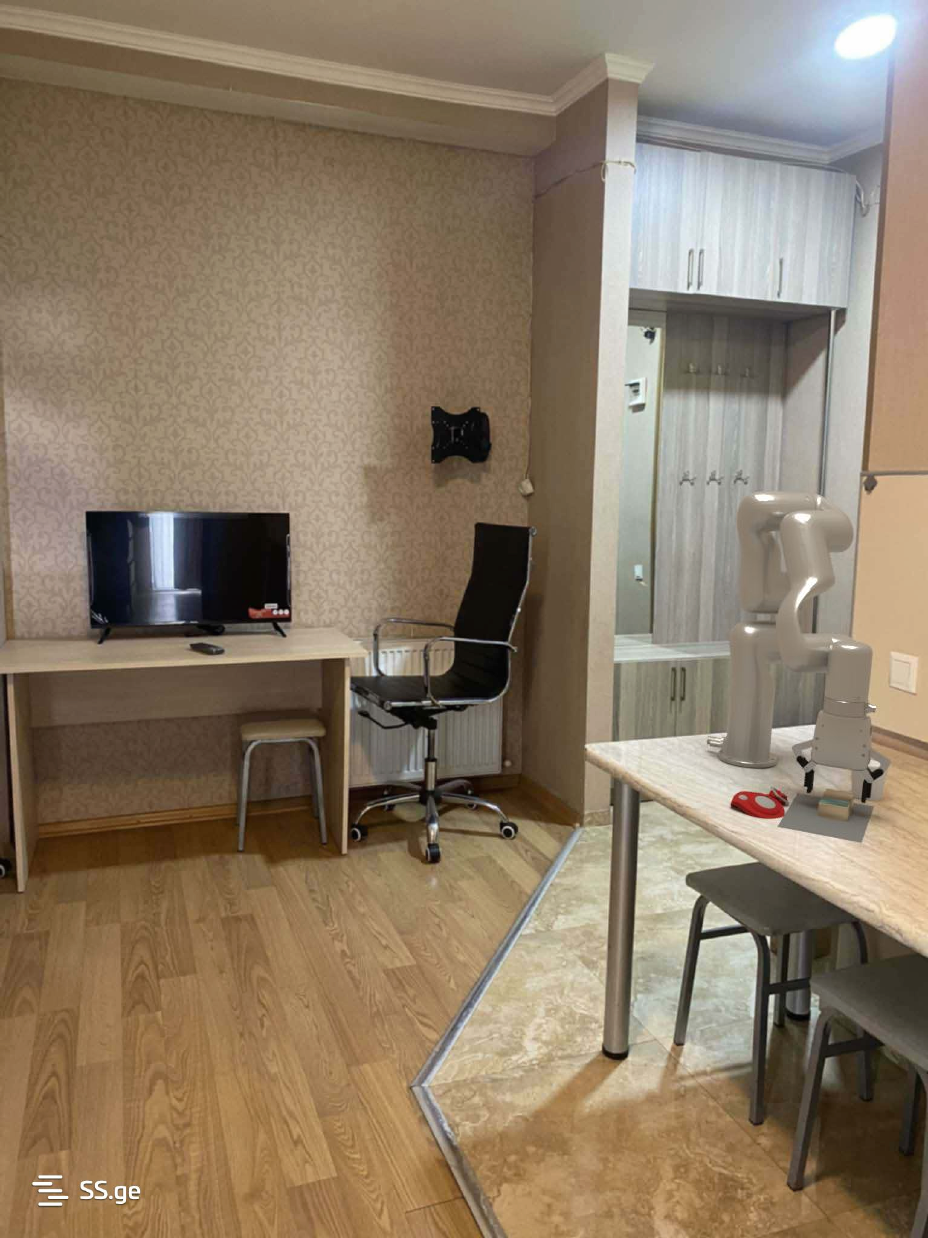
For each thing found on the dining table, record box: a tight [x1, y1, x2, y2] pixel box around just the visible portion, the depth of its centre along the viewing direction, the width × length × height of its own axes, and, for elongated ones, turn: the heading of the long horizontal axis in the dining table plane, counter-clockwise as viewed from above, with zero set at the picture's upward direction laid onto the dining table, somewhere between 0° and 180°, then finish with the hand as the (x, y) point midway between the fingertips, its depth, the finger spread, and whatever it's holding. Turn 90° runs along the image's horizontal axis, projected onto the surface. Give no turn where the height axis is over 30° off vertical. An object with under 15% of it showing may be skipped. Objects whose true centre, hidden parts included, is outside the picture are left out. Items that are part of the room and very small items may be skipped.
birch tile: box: [818, 788, 855, 821], centre depth 180 cm, size 10×5×3 cm, turn 152°
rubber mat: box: [777, 793, 874, 844], centre depth 177 cm, size 14×22×1 cm, turn 152°
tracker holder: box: [730, 786, 790, 820], centre depth 181 cm, size 12×4×10 cm
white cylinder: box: [850, 758, 889, 802], centre depth 191 cm, size 7×7×7 cm
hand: (836, 796), depth 180 cm, fingers open, 9 cm apart
